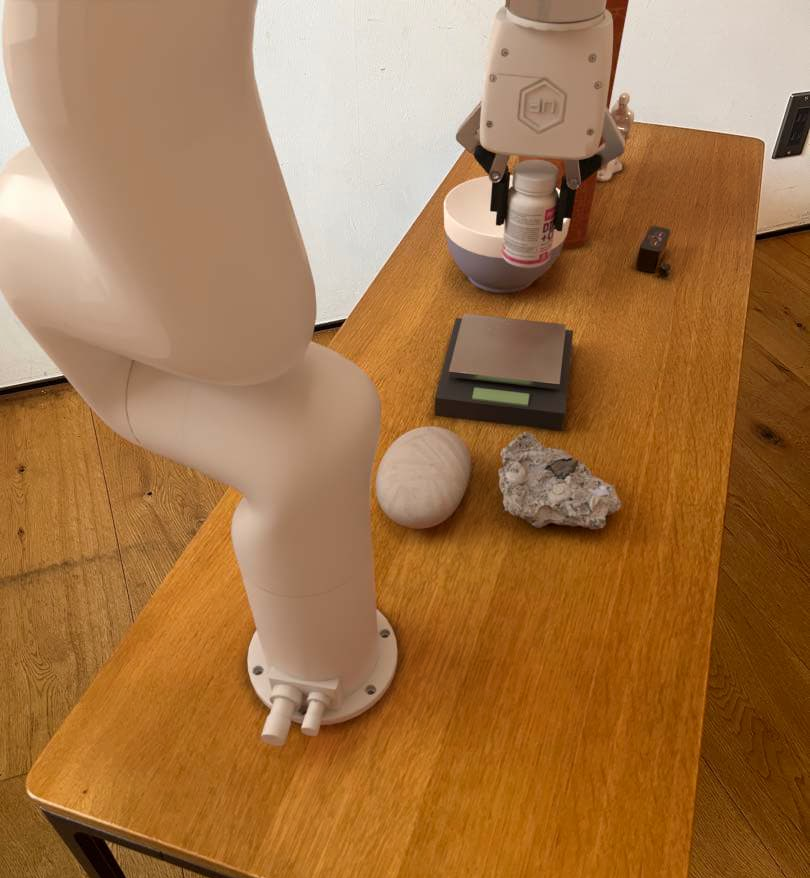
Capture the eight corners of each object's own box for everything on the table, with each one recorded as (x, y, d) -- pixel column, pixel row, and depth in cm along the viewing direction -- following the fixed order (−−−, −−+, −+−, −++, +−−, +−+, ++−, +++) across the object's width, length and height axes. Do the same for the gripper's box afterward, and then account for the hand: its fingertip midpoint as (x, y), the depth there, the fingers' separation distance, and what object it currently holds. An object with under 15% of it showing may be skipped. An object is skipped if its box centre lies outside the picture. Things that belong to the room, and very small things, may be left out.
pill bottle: (548, 272, 74) (560, 184, 68) (498, 266, 75) (505, 179, 69) (552, 246, 77) (565, 159, 71) (504, 241, 78) (512, 155, 72)
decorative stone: (403, 441, 84) (402, 405, 80) (484, 461, 82) (487, 425, 78) (358, 527, 76) (355, 492, 72) (446, 551, 74) (448, 516, 70)
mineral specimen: (524, 456, 83) (633, 492, 78) (477, 525, 77) (592, 568, 73) (525, 414, 79) (642, 449, 74) (475, 483, 73) (598, 526, 68)
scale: (561, 431, 85) (565, 411, 83) (434, 415, 87) (434, 395, 85) (570, 347, 94) (573, 328, 92) (454, 335, 96) (455, 315, 94)
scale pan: (558, 389, 85) (559, 383, 84) (448, 376, 86) (448, 371, 85) (565, 329, 91) (566, 324, 91) (463, 319, 93) (463, 313, 92)
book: (517, 171, 123) (541, -64, 100) (570, 171, 123) (606, -64, 100) (526, 248, 109) (556, -6, 86) (585, 249, 108) (632, -6, 85)
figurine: (628, 164, 125) (645, 82, 115) (614, 190, 119) (631, 106, 110) (599, 159, 126) (613, 78, 117) (584, 185, 120) (598, 101, 111)
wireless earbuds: (632, 273, 105) (637, 250, 102) (645, 247, 109) (651, 225, 106) (666, 281, 103) (673, 258, 101) (679, 254, 107) (685, 232, 105)
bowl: (547, 318, 98) (557, 247, 91) (425, 295, 102) (426, 225, 94) (571, 253, 108) (583, 184, 100) (460, 235, 111) (463, 167, 104)
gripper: (438, 3, 58) (433, 233, 72) (672, 16, 56) (621, 251, 70) (454, -28, 63) (447, 194, 77) (671, -17, 61) (623, 209, 75)
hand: (530, 219), depth 73 cm, fingers closed on pill bottle, 4 cm apart
